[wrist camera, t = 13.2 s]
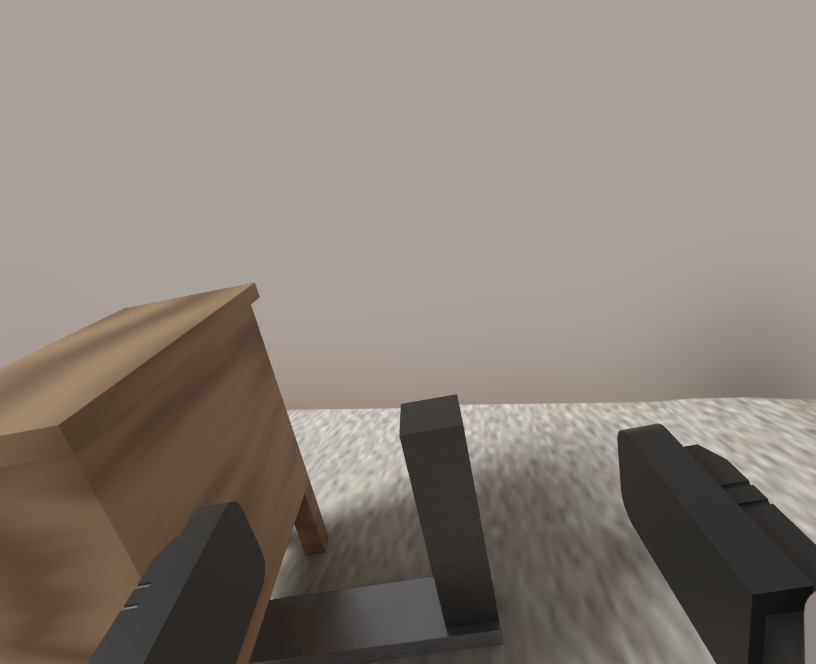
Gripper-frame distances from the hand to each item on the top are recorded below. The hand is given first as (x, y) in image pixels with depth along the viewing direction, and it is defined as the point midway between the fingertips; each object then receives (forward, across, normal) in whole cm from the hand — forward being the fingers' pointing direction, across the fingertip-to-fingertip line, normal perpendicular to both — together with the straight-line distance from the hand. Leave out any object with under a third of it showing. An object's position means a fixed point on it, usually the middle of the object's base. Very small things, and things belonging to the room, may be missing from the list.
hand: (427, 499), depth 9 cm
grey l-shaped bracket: (+11, +10, +19) cm, 24 cm away
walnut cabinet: (+11, +15, +19) cm, 27 cm away
